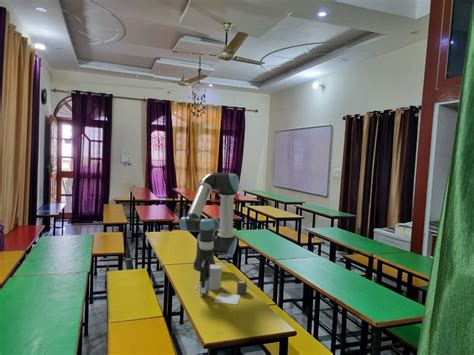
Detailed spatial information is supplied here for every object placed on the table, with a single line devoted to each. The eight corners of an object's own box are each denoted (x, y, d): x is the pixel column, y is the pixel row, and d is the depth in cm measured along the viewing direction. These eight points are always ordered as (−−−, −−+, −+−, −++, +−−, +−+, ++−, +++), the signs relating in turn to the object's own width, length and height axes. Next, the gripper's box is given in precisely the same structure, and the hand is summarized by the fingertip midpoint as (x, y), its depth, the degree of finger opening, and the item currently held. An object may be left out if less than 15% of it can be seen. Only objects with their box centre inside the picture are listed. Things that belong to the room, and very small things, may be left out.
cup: (218, 290, 190) (219, 269, 189) (204, 288, 191) (205, 268, 191) (222, 285, 198) (223, 265, 197) (208, 283, 199) (209, 263, 199)
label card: (195, 286, 194) (195, 286, 194) (204, 287, 193) (204, 287, 193) (194, 288, 191) (194, 288, 191) (203, 289, 190) (203, 289, 190)
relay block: (236, 291, 191) (237, 280, 190) (245, 291, 191) (246, 280, 191) (237, 294, 186) (237, 283, 185) (246, 295, 186) (246, 283, 186)
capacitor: (200, 290, 185) (201, 275, 184) (209, 291, 184) (210, 276, 183) (198, 294, 180) (199, 279, 179) (207, 295, 179) (208, 280, 178)
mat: (218, 293, 186) (218, 292, 186) (240, 295, 184) (240, 295, 184) (214, 302, 174) (214, 301, 174) (237, 304, 172) (237, 304, 172)
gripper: (203, 243, 189) (201, 283, 191) (194, 252, 171) (193, 297, 173) (216, 244, 188) (214, 285, 190) (209, 253, 170) (207, 298, 172)
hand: (204, 290), depth 182 cm, fingers closed on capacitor, 5 cm apart
